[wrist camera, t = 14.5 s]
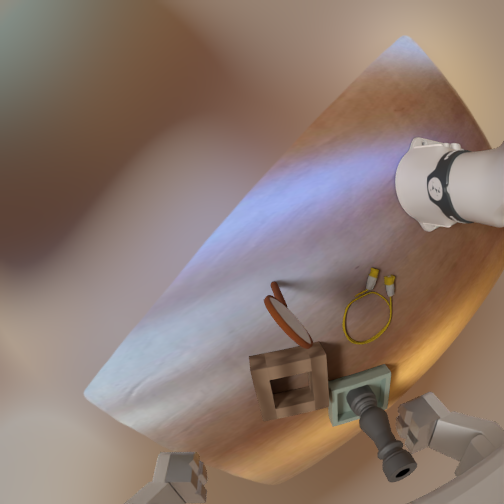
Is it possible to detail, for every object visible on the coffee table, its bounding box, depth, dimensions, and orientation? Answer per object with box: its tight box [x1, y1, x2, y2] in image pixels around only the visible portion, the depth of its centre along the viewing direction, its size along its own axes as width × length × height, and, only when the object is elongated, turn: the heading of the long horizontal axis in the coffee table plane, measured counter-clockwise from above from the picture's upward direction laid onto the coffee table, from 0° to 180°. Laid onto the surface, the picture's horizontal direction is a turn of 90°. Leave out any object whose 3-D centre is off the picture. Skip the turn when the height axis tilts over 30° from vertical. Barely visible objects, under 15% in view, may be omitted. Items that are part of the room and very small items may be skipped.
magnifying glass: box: [264, 282, 313, 349], centre depth 41 cm, size 9×2×20 cm, turn 43°
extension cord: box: [343, 268, 395, 344], centre depth 53 cm, size 12×16×2 cm
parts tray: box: [328, 364, 391, 426], centre depth 56 cm, size 14×12×4 cm
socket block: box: [249, 342, 329, 421], centre depth 53 cm, size 14×14×5 cm
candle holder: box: [346, 385, 417, 482], centre depth 45 cm, size 6×6×25 cm
